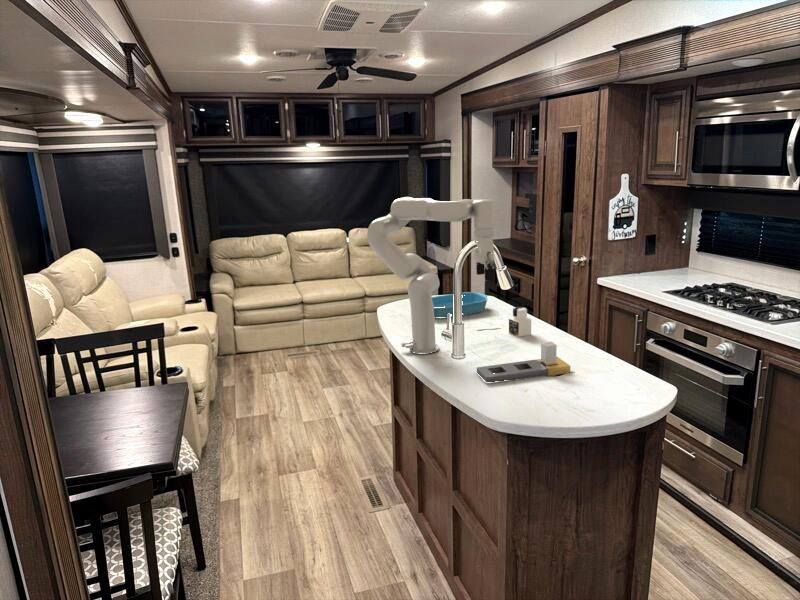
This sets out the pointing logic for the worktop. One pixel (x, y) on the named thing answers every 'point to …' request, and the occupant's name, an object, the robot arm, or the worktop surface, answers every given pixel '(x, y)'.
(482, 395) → the worktop surface
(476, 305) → the casserole dish
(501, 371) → the rail
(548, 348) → the steel peg
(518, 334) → the medicine bottle
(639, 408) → the worktop surface
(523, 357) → the worktop surface
